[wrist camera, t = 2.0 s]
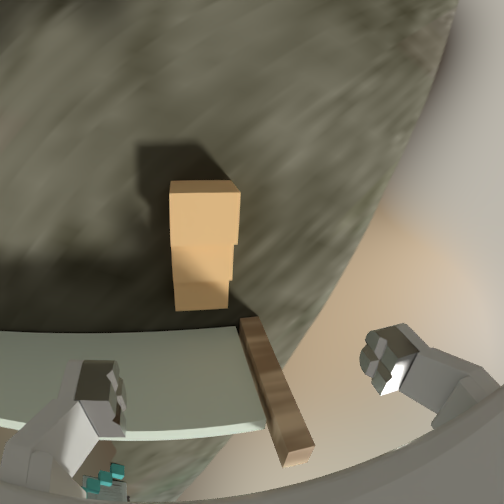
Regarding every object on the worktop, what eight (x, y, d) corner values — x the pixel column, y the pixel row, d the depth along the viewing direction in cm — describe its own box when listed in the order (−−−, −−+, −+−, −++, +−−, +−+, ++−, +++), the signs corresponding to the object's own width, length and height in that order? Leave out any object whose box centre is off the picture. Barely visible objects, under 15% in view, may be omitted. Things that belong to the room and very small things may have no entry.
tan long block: (170, 179, 24) (169, 193, 20) (230, 179, 26) (240, 192, 22) (175, 302, 29) (176, 331, 25) (225, 299, 31) (233, 327, 27)
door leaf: (-10, 329, 24) (-48, 405, 14) (235, 324, 31) (266, 418, 21) (-2, 347, 26) (-33, 423, 15) (234, 344, 33) (263, 435, 22)
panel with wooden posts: (-45, 321, 23) (-95, 414, 9) (258, 316, 32) (315, 445, 18) (-36, 339, 24) (-80, 432, 10) (256, 337, 33) (307, 462, 19)
